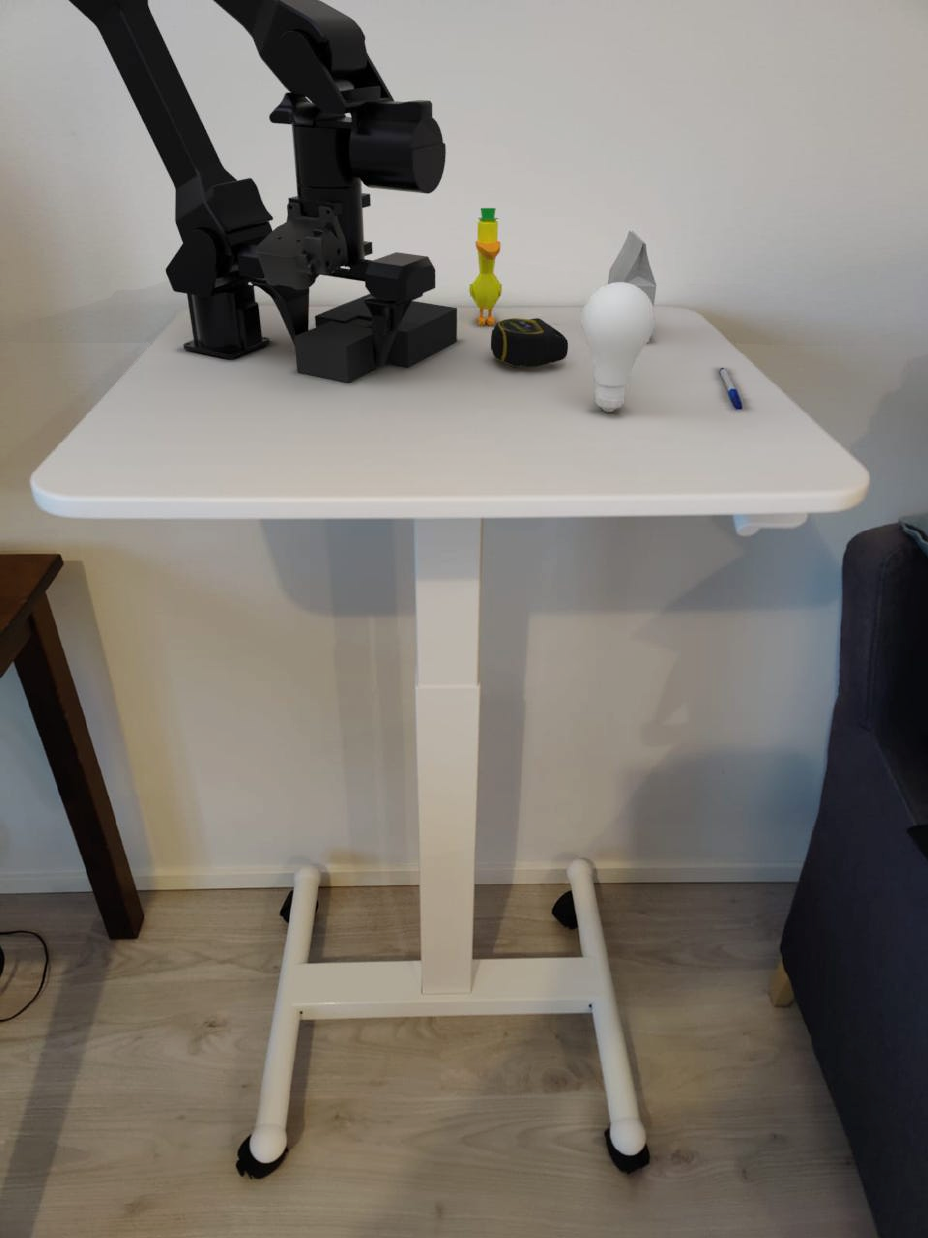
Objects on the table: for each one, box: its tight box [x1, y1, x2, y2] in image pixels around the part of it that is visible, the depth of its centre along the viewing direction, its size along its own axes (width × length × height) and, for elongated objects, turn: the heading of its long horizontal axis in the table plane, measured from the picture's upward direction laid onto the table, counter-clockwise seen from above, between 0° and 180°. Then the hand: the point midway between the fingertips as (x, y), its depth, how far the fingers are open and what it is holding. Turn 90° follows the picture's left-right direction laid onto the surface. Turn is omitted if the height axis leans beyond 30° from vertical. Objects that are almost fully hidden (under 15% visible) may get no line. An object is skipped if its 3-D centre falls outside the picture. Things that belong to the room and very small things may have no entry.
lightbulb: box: [580, 282, 656, 413], centre depth 79 cm, size 6×6×11 cm
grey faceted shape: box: [607, 230, 657, 344], centre depth 99 cm, size 4×7×10 cm, turn 3°
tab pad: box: [294, 319, 379, 384], centre depth 90 cm, size 6×8×4 cm
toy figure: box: [468, 207, 503, 327], centre depth 101 cm, size 7×4×12 cm, turn 5°
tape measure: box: [490, 317, 569, 368], centre depth 92 cm, size 7×7×4 cm
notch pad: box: [314, 293, 458, 368], centre depth 96 cm, size 11×10×4 cm
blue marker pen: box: [719, 367, 743, 411], centre depth 87 cm, size 10×1×1 cm, turn 177°
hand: (339, 358), depth 90 cm, fingers open, 9 cm apart
